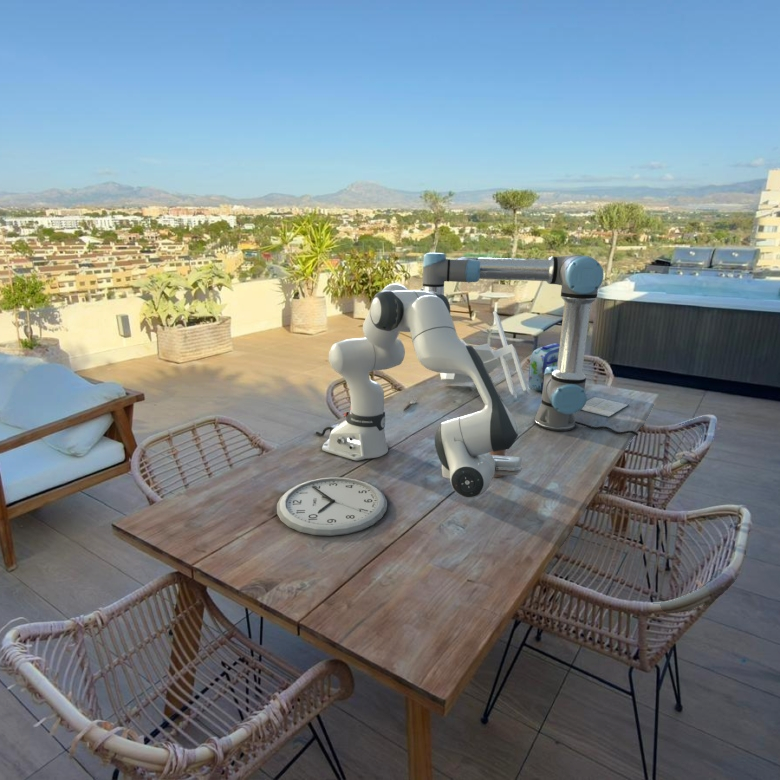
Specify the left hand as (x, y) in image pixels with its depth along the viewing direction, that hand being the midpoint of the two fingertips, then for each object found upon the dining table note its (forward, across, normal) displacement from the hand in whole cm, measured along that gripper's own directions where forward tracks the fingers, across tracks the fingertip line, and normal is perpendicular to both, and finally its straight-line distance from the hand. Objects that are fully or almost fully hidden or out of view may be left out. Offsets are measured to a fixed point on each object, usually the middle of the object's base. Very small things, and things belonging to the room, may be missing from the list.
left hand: (484, 457), depth 141 cm
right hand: (+45, +26, -26) cm, 58 cm away
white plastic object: (+104, +15, -10) cm, 105 cm away
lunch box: (+122, -16, -13) cm, 124 cm away
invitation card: (+102, -38, -6) cm, 109 cm away
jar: (+23, -1, +9) cm, 25 cm away
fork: (+74, +41, -6) cm, 85 cm away
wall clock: (-11, +39, +14) cm, 43 cm away
